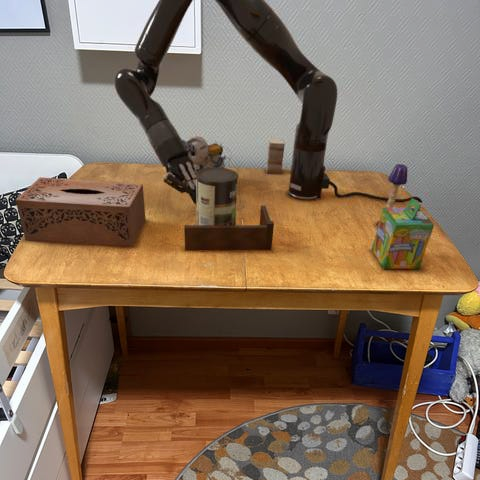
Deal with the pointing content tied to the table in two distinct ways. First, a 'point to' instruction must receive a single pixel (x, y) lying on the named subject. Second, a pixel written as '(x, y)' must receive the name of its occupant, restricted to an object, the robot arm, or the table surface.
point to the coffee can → (216, 196)
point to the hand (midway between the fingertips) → (200, 203)
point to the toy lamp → (396, 183)
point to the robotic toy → (204, 152)
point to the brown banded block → (275, 156)
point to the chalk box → (402, 237)
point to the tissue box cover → (82, 211)
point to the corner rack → (231, 235)
